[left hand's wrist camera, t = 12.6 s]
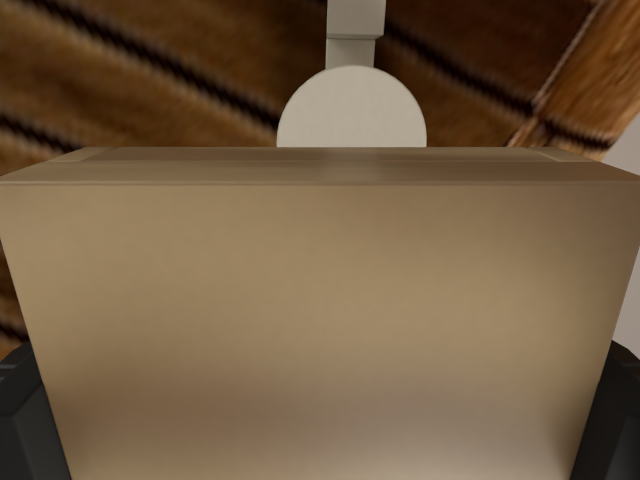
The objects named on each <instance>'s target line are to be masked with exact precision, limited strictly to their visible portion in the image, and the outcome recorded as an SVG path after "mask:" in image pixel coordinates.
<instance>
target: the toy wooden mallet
mask: <svg viewBox="0 0 640 480" xmlns="http://www.w3.org/2000/svg"><path fill="white" fill-rule="evenodd" d="M385 6H386V0H328V8H327V41H326V69H325V70H323V71H321V72H319V73H317V74H316V75H314V76H313V77H311V78H310V79H309V80H307V81H306V82H305V83H304V84H303V85H302V86H301V87H300V88H299V89H298V90H297V91H296V92H295V93H294V94H293V96H292V97H291V99H290V100H289V102H288V103H287V105H286V107H285V109H284V111H283V113H282V116H281V119H280V122H279V127H278V132H277V147H426V138H427V137H426V127H425V122H424V117H423V115H422V112H421V109H420V107H419V105H418V103H417V101H416V99H415V98H414V97H413V95H412V94H411V92H410V91H409V90H408V89H407V88H406V87H405V86H404V85H403V84H402V83H401V82H400V81H399V80H397V79H396V78H395V77H393V76H391V75H390V74H388V73H386V72H384V71H381V70H379V69H377V68H373V64H374V50H375V39H377V38H379V37H380V36H382V35H383V33H384V19H385Z"/></svg>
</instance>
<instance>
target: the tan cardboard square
mask: <svg viewBox="0 0 640 480" xmlns="http://www.w3.org/2000/svg"><path fill="white" fill-rule="evenodd" d="M0 239H1V242H2V246H3V249H4V252H5V256H6V259H7V263H8V266H9V269H10V273H11V276H12V280H13V283H14V286H15V290H16V293H17V297H18V300H19V303H20V307H21V310H22V313H23V317H24V320H25V324H26V327H27V330H28V334H29V337H30V341H31V344H32V347H33V351H34V354H35V358H36V361H37V364H38V368H39V371H40V375H41V378H42V381H43V385H44V388H45V392H46V395H47V398H48V402H49V405H50V408H51V412H52V415H53V419H54V422H55V425H56V429H57V432H58V436H59V439H60V442H61V446H62V449H63V453H64V456H65V459H66V463H67V466H68V470H69V473H70V476H71V480H570V477H571V474H572V470H573V467H574V464H575V460H576V457H577V453H578V450H579V447H580V443H581V440H582V437H583V433H584V430H585V426H586V423H587V420H588V416H589V413H590V410H591V406H592V403H593V399H594V396H595V393H596V389H597V386H598V383H599V381H600V378H601V374H602V371H603V367H604V364H605V361H606V357H607V354H608V351H609V347H610V344H611V341H612V337H613V334H614V330H615V327H616V324H617V320H618V317H619V314H620V310H621V307H622V303H623V300H624V297H625V293H626V290H627V286H628V283H629V280H630V276H631V273H632V270H633V266H634V263H635V260H636V256H637V253H638V250H639V246H640V176H639V175H636V174H633V173H630V172H627V171H624V170H621V169H619V168H616V167H613V166H610V165H607V164H604V163H601V162H596V161H594V160H592V159H589V158H586V157H583V156H580V155H577V154H574V153H572V152H569V151H566V150H563V149H560V148H557V147H528V148H523V147H118V148H116V149H115V148H112V147H85V148H82V149H79V150H76V151H74V152H71V153H68V154H65V155H62V156H59V157H56V158H53V159H50V160H48V161H46V162H41V163H38V164H35V165H32V166H29V167H26V168H23V169H21V170H18V171H15V172H12V173H9V174H6V175H3V176H0Z"/></svg>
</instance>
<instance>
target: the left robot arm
mask: <svg viewBox="0 0 640 480" xmlns="http://www.w3.org/2000/svg"><path fill="white" fill-rule="evenodd" d="M0 480H71V476H70V473H69V470H68V466H67V463H66V459H65V456H64V453H63V449H62V446H61V442H60V439H59V436H58V432H57V429H56V425H55V422H54V419H53V415H52V412H51V408H50V405H49V402H48V398H47V395H46V392H45V388H44V385H43V381H42V378H41V375H40V371H39V368H38V364H37V361H36V358H35V354H34V351H33V347H32V344H31V341H28V342H27V343H25V344H23V345H21V346H20V347H18V348H16V349H14V350H13V351H12V352H11V353H10V354H9V355H7V356H6V357H5V358H4V359H3V360H2V361H1V362H0ZM570 480H640V360H639V359H638V358H637V357H636V356H635V355H634V354H633V353H632V352H631V351H630V350H628V349H627V348H625V347H624V346H622V345H620V344H618V343H617V342H615V341H613V340H612V341H611V344H610V347H609V351H608V354H607V357H606V361H605V364H604V367H603V371H602V374H601V378H600V381H599V383H598V386H597V389H596V393H595V396H594V399H593V403H592V406H591V410H590V413H589V416H588V420H587V423H586V426H585V430H584V433H583V437H582V440H581V443H580V447H579V450H578V453H577V457H576V460H575V464H574V467H573V470H572V474H571V477H570Z"/></svg>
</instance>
